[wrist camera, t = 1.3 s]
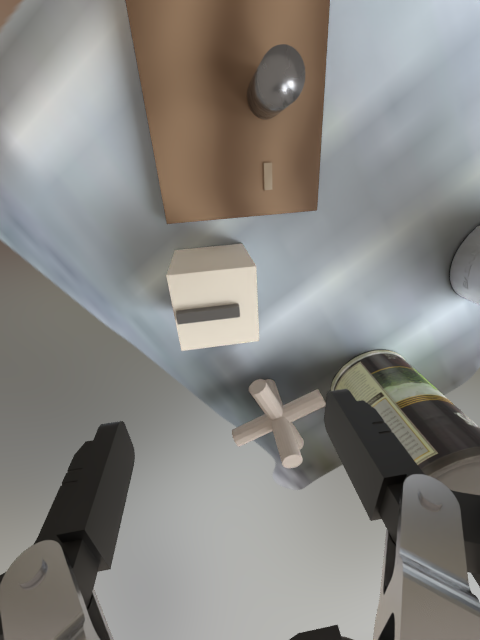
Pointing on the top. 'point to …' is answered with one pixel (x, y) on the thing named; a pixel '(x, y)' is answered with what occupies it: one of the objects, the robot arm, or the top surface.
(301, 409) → the pipe connector
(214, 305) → the cream rectangular block
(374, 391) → the coffee can
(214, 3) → the board
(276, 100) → the metal cylinder puck
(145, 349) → the top surface
